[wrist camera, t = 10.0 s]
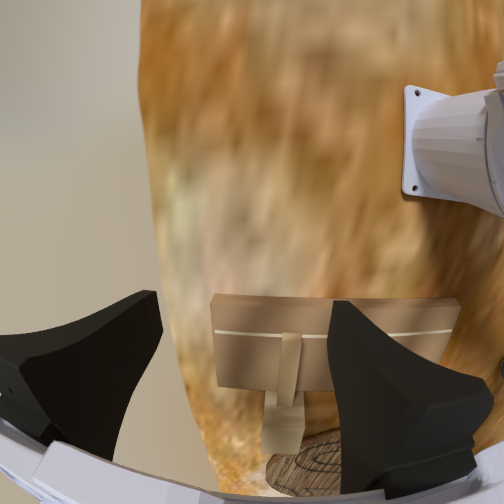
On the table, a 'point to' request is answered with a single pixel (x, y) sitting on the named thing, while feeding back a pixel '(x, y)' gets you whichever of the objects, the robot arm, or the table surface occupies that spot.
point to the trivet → (309, 467)
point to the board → (314, 334)
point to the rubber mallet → (502, 367)
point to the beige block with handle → (285, 403)
